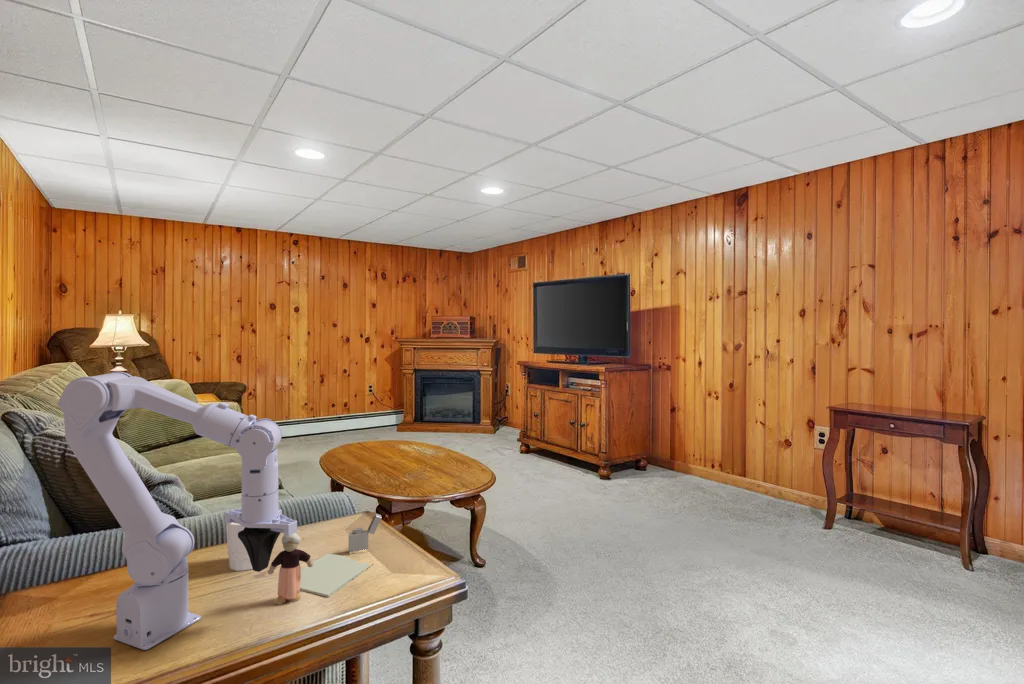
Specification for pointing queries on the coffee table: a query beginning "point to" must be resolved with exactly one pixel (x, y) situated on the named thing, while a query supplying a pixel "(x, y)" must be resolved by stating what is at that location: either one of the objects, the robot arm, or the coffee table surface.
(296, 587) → the grandmother figurine
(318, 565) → the mat
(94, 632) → the coffee table surface
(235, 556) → the white cup
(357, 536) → the lighter
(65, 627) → the coffee table surface
